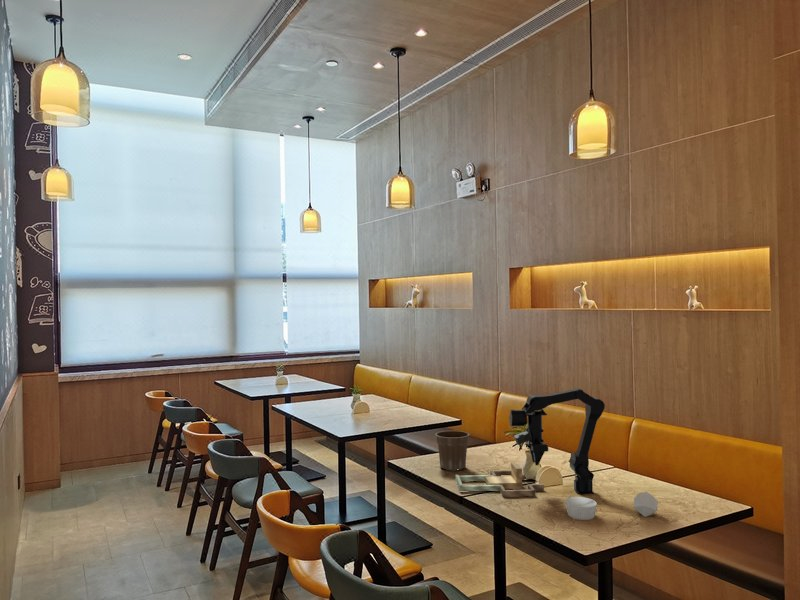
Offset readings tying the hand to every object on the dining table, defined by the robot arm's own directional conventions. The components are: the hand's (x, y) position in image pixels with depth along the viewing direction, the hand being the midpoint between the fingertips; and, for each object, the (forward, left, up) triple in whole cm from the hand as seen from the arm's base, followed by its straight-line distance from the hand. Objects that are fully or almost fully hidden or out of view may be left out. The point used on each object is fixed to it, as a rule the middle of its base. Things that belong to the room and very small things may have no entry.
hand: (535, 463), depth 247 cm
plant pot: (+30, -40, -12) cm, 51 cm away
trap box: (+14, -10, -12) cm, 21 cm away
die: (-34, +27, -12) cm, 45 cm away
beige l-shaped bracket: (+11, -10, -12) cm, 20 cm away
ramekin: (-10, +27, -12) cm, 31 cm away
